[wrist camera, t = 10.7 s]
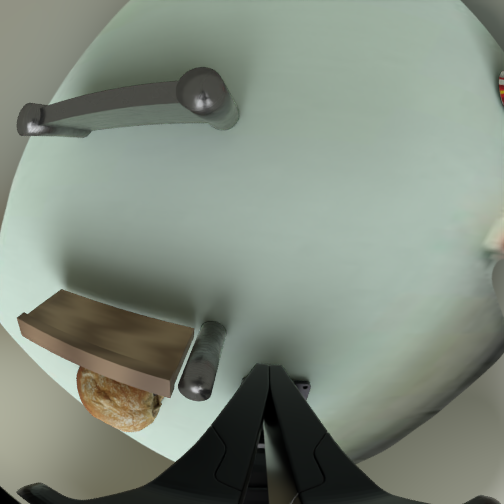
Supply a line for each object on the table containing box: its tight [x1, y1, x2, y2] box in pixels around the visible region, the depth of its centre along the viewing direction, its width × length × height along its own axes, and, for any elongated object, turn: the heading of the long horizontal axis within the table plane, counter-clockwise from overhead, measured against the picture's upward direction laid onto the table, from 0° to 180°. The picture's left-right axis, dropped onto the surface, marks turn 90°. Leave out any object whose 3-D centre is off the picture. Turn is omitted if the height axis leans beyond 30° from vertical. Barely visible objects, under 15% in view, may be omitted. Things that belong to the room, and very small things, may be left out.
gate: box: [17, 289, 194, 398], centre depth 18 cm, size 14×2×7 cm, turn 80°
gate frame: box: [17, 67, 239, 401], centre depth 16 cm, size 19×14×7 cm
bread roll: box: [76, 366, 164, 432], centre depth 23 cm, size 10×10×8 cm
